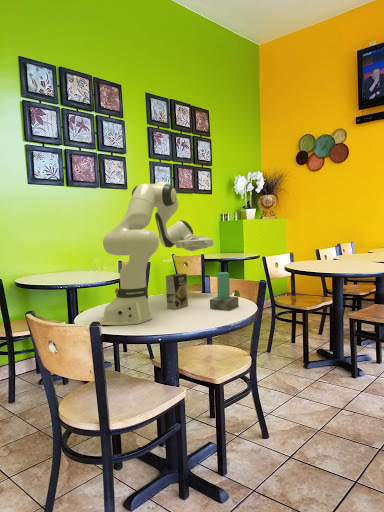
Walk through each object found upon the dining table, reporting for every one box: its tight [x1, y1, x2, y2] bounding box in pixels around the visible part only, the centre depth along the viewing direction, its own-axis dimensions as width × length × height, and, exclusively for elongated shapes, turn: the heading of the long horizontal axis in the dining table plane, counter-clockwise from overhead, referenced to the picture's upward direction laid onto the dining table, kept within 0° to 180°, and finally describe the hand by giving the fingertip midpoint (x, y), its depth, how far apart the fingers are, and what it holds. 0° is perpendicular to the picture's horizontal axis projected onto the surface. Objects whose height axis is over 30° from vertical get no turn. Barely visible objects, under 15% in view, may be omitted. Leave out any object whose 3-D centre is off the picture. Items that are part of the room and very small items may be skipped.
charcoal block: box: [209, 296, 239, 312], centre depth 187 cm, size 10×10×5 cm
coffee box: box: [165, 273, 189, 310], centre depth 194 cm, size 9×6×16 cm
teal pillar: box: [216, 271, 231, 299], centre depth 186 cm, size 4×4×12 cm
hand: (197, 243), depth 206 cm, fingers open, 8 cm apart
